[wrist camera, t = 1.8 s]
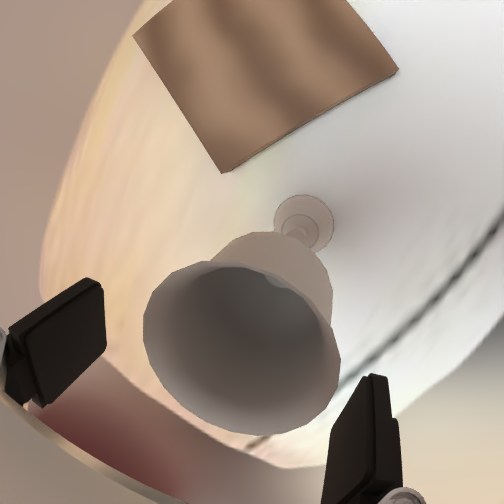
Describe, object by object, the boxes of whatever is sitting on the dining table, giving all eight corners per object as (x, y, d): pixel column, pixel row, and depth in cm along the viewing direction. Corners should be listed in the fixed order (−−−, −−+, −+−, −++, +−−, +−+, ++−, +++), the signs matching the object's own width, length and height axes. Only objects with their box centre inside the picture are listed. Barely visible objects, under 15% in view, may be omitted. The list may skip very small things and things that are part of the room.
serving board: (281, -55, 18) (277, -66, 16) (394, 74, 20) (399, 68, 18) (144, 40, 24) (132, 35, 22) (229, 171, 26) (221, 173, 24)
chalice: (266, 176, 26) (132, 242, 9) (350, 187, 24) (366, 282, 8) (260, 259, 28) (155, 407, 12) (337, 272, 27) (315, 449, 10)
